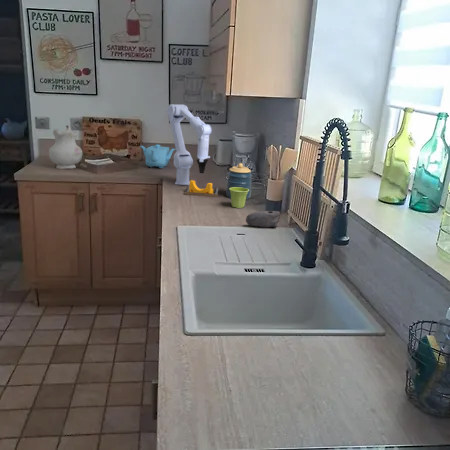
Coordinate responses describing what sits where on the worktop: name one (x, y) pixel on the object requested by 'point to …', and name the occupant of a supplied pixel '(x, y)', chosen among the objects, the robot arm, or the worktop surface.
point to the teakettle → (157, 155)
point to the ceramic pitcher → (65, 149)
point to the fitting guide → (202, 193)
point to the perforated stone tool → (263, 218)
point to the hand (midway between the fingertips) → (201, 173)
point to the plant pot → (238, 196)
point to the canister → (239, 179)
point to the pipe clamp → (195, 189)
